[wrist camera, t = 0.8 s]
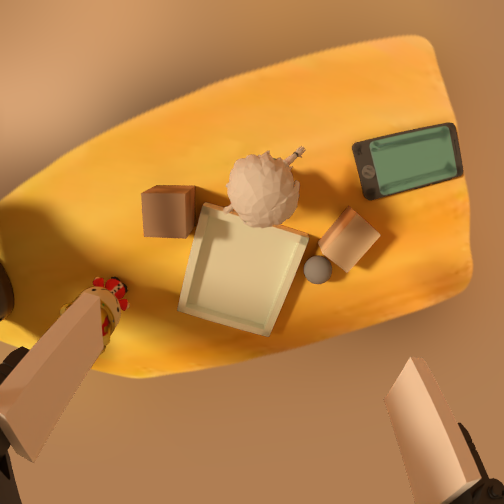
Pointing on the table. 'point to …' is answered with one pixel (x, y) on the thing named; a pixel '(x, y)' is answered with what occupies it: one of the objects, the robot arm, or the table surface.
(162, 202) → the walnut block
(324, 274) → the grey ball
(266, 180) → the figurine
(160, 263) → the table surface
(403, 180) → the smartphone
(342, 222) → the maple block
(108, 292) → the toy
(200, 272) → the tray
